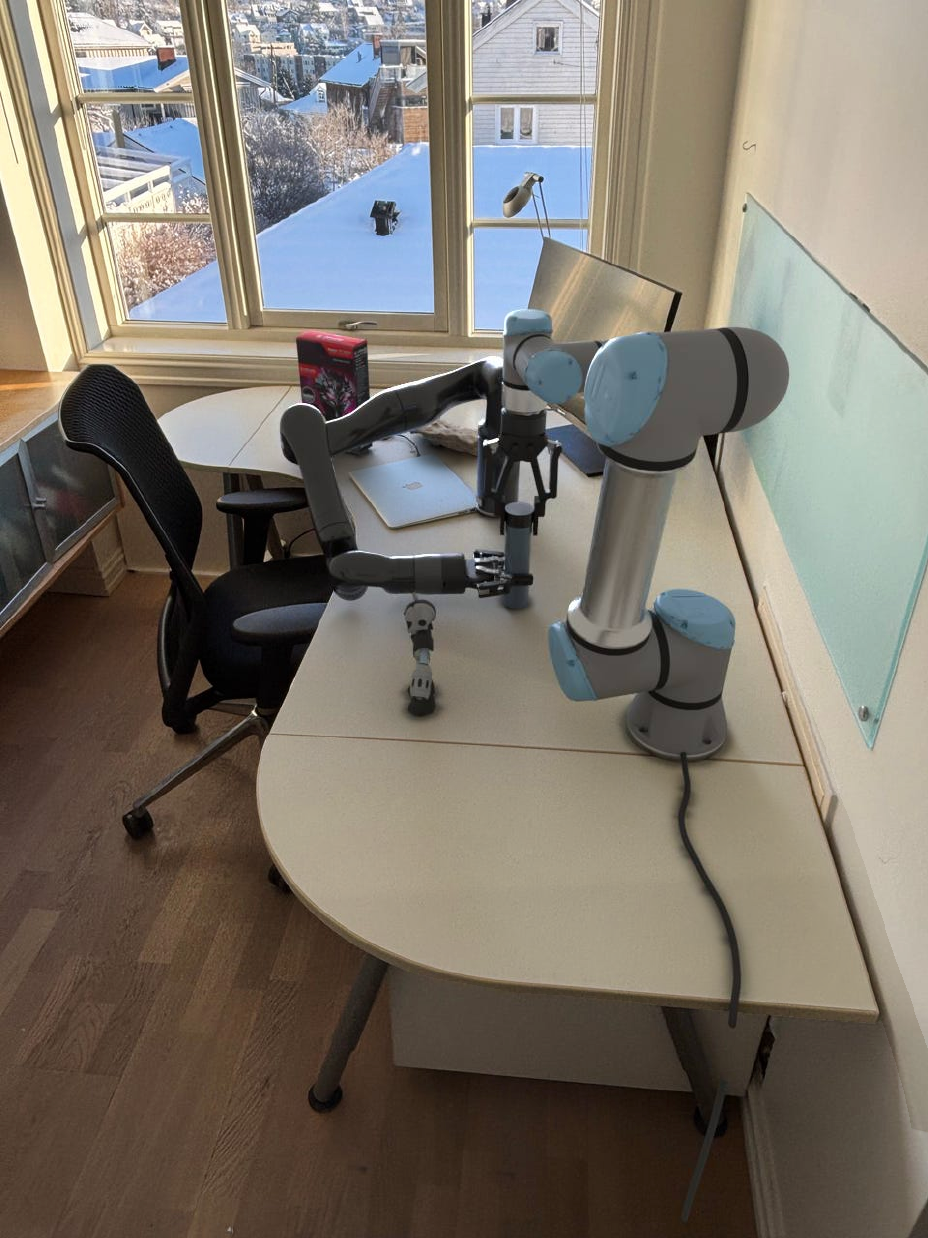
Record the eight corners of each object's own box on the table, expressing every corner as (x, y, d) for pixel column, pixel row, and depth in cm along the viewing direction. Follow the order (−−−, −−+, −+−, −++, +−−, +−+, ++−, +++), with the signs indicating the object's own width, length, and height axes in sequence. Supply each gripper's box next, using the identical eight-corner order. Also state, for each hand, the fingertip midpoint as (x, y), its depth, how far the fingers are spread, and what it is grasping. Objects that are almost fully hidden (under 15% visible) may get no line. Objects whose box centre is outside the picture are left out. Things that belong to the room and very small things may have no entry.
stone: (393, 439, 229) (398, 415, 226) (412, 430, 242) (417, 408, 240) (473, 463, 225) (479, 439, 223) (488, 453, 238) (493, 431, 236)
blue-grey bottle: (531, 598, 174) (537, 509, 164) (521, 611, 171) (526, 520, 160) (508, 592, 176) (512, 503, 166) (498, 604, 173) (501, 514, 162)
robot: (438, 740, 141) (437, 632, 129) (406, 740, 140) (402, 633, 129) (435, 663, 157) (434, 561, 146) (406, 664, 157) (403, 562, 145)
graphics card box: (303, 443, 234) (292, 335, 219) (319, 434, 239) (310, 328, 224) (359, 456, 228) (353, 346, 212) (374, 446, 233) (369, 338, 217)
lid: (510, 511, 167) (511, 499, 165) (537, 516, 165) (538, 505, 164) (499, 523, 163) (500, 511, 161) (527, 529, 161) (528, 517, 160)
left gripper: (437, 571, 177) (525, 569, 178) (440, 612, 165) (535, 610, 166) (437, 537, 173) (527, 535, 174) (440, 576, 161) (537, 574, 162)
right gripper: (577, 400, 155) (567, 522, 168) (469, 398, 155) (467, 521, 168) (581, 416, 149) (571, 542, 162) (468, 415, 149) (467, 541, 162)
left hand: (530, 571), depth 170 cm, fingers closed on blue-grey bottle, 4 cm apart
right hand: (518, 531), depth 165 cm, fingers closed on lid, 5 cm apart
